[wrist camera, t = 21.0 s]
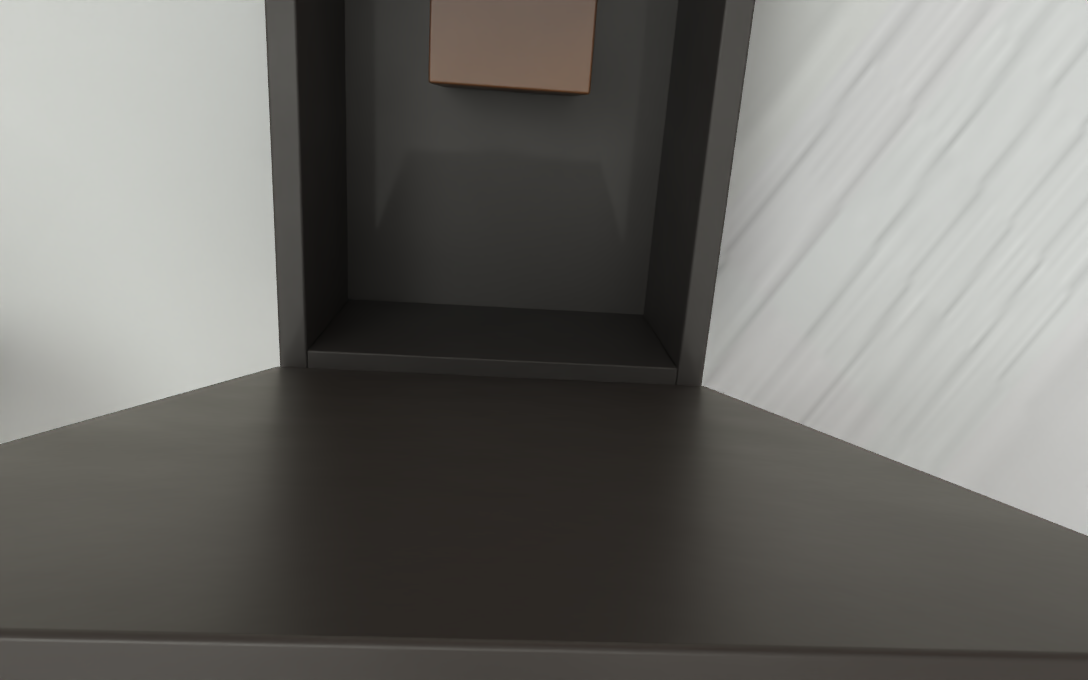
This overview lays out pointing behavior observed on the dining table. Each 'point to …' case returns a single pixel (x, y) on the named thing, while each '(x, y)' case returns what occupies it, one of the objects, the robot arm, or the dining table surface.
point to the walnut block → (513, 45)
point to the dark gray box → (501, 196)
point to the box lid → (510, 542)
